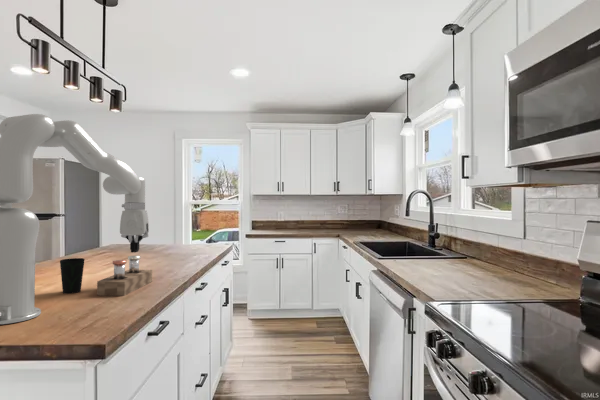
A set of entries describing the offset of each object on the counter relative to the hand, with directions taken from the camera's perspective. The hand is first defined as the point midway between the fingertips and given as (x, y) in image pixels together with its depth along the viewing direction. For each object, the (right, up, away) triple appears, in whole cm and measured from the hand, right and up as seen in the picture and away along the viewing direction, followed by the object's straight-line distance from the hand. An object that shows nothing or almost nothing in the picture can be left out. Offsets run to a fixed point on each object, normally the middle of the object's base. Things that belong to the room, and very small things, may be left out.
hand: (134, 251), depth 141 cm
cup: (-17, -13, -12) cm, 25 cm away
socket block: (0, -13, -6) cm, 15 cm away
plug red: (0, -9, -11) cm, 14 cm away
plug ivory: (0, -9, 0) cm, 9 cm away
